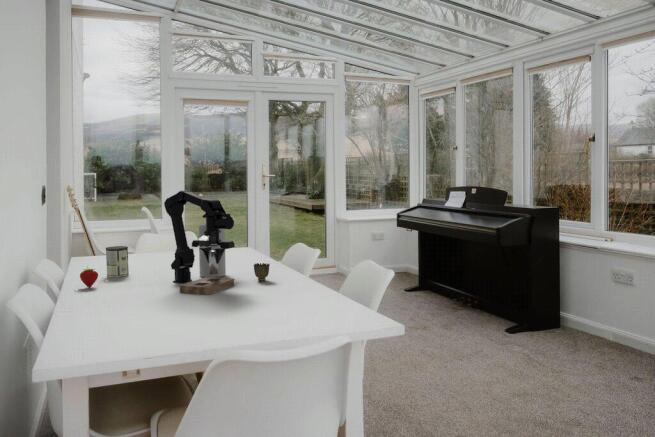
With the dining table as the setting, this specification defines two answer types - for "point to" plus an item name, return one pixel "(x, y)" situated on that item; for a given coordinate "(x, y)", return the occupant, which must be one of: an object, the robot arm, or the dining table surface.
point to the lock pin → (213, 263)
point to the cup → (261, 271)
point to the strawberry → (89, 277)
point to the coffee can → (117, 261)
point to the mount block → (206, 285)
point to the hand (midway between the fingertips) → (213, 263)
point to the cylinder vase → (203, 261)
